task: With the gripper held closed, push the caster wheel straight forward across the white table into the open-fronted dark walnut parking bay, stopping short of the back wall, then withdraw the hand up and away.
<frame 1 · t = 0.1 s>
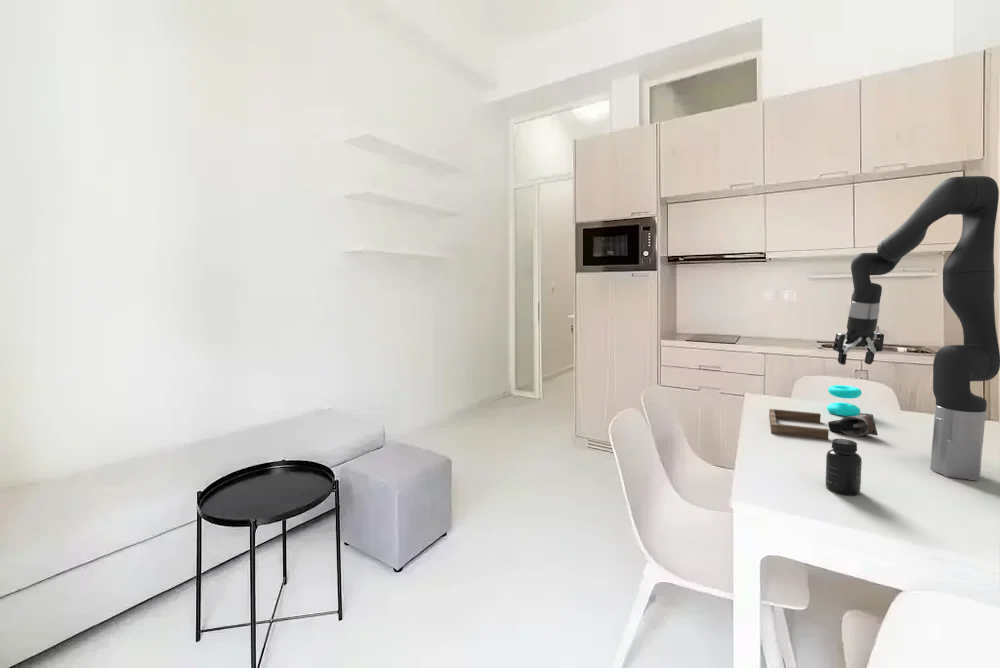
hand: (854, 363, 154), 22 cm above the table, tool pointing down, fingers open, 8 cm apart
supplement bottle: (842, 490, 113), on the table
caster wheel: (848, 434, 153), on the table
donuts: (843, 414, 175), on the table
parking bay: (798, 427, 160), on the table
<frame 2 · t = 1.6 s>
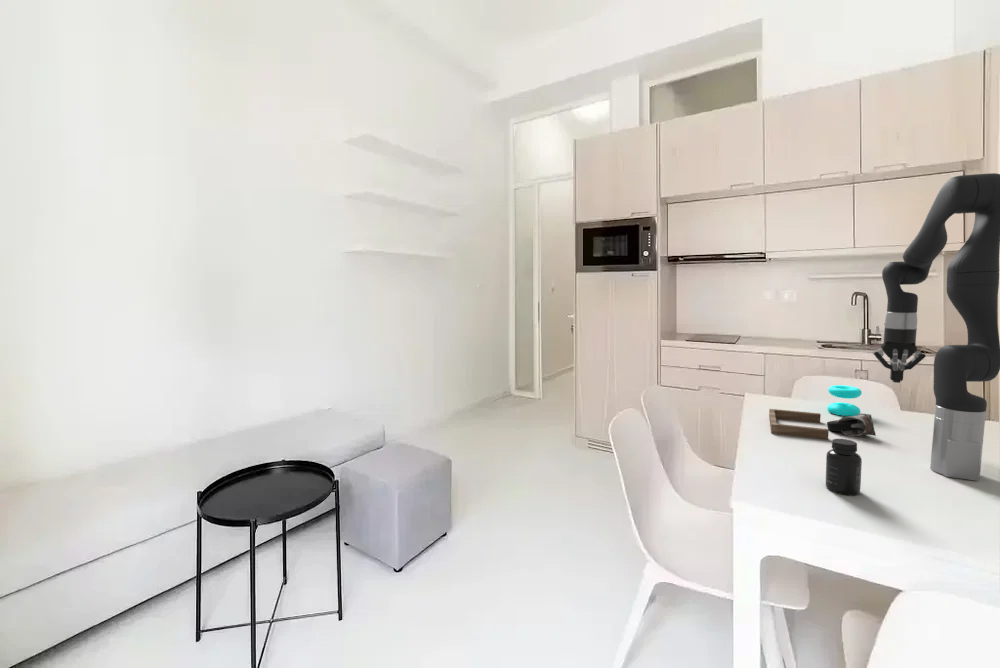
hand: (896, 382, 146), 18 cm above the table, tool pointing down, fingers closed
nothing on the table moved.
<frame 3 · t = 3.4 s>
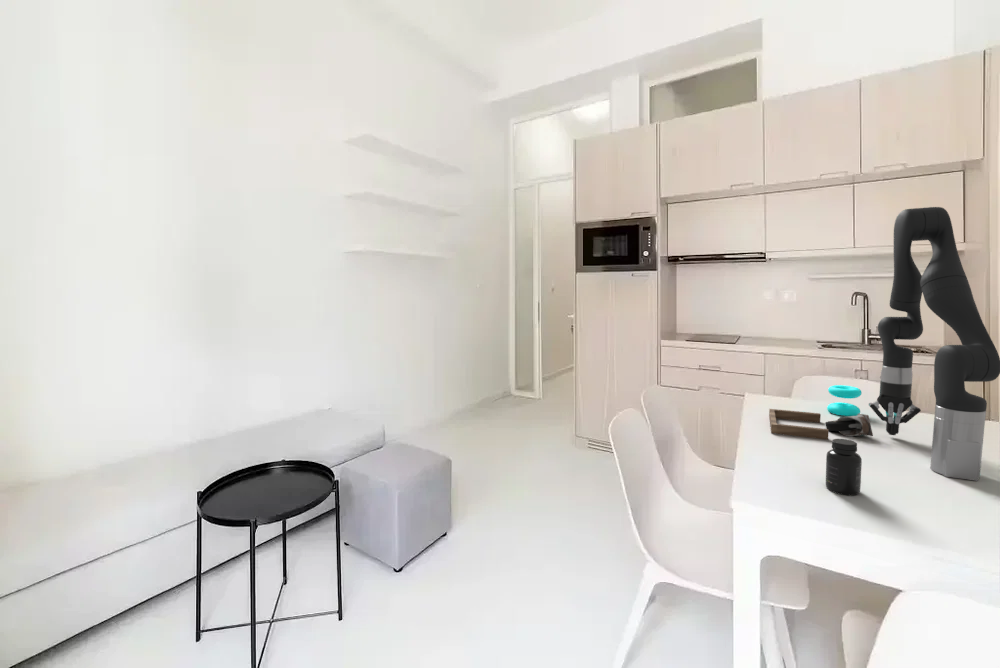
hand: (892, 434, 148), 1 cm above the table, tool pointing down, fingers closed
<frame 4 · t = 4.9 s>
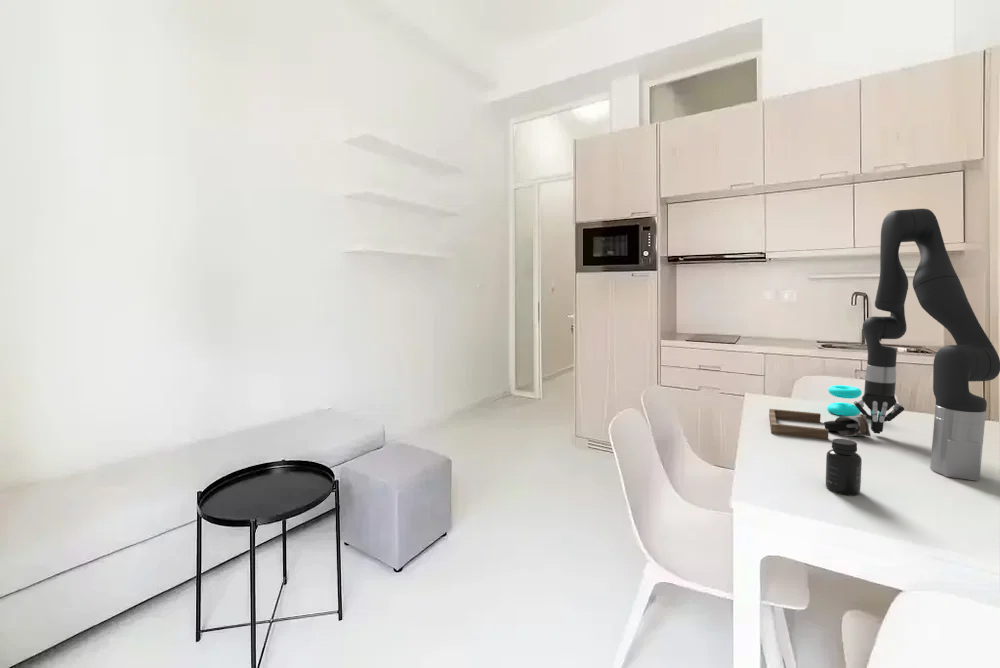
hand: (876, 432, 150), 1 cm above the table, tool pointing down, fingers closed
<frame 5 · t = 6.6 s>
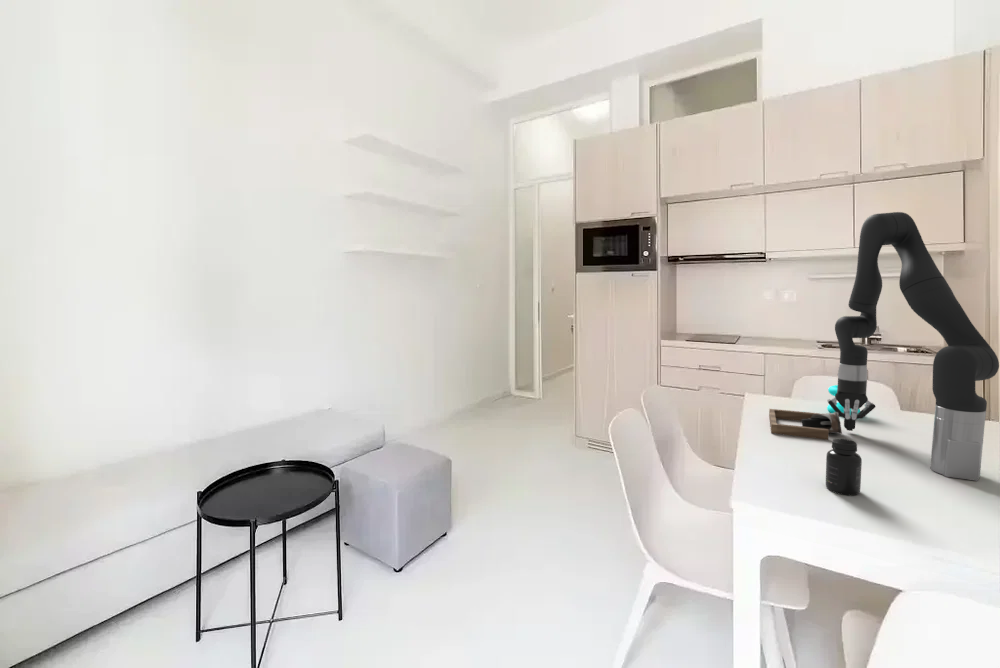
hand: (849, 429, 153), 1 cm above the table, tool pointing down, fingers closed
caster wheel: (819, 431, 156), on the table, touching hand
everything else where it was.
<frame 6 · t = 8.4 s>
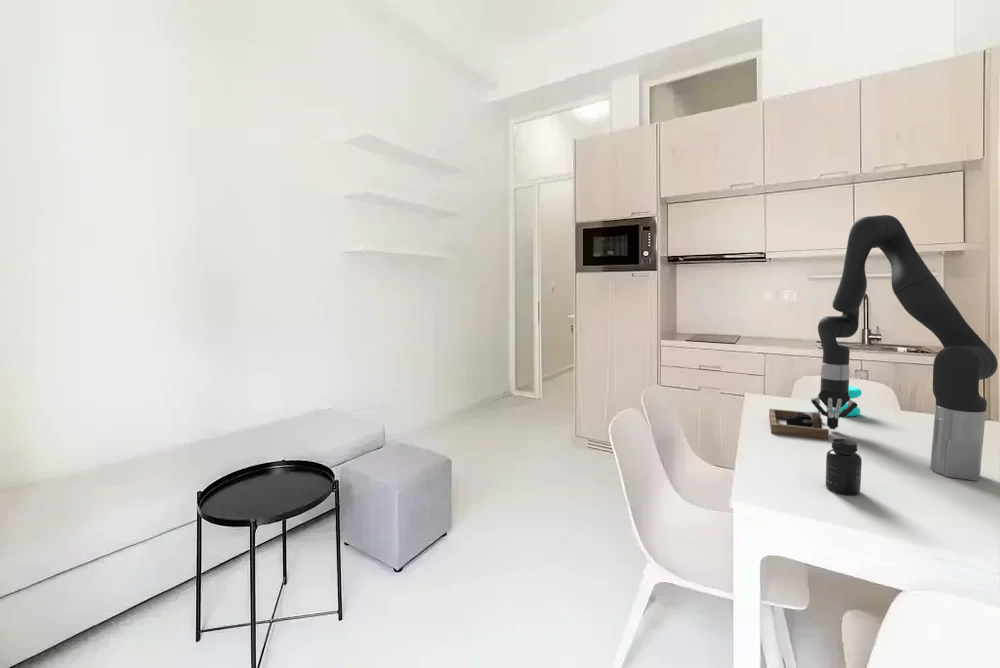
hand: (832, 428, 155), 1 cm above the table, tool pointing down, fingers closed
caster wheel: (803, 429, 158), on the table, touching hand
everything else where it was.
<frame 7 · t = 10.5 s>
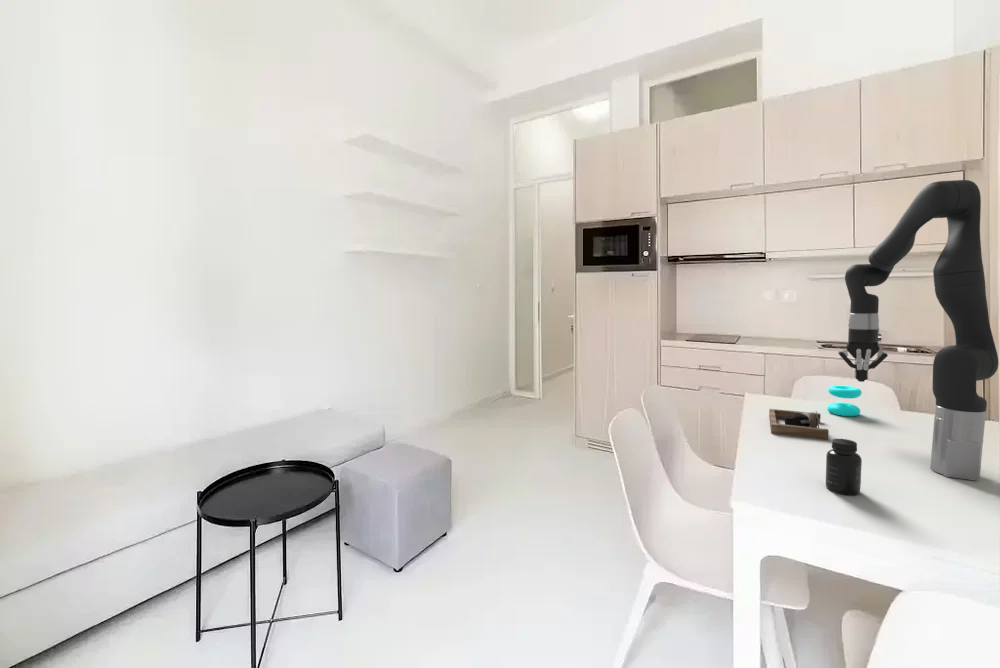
hand: (861, 381, 150), 17 cm above the table, tool pointing down, fingers closed
caster wheel: (801, 429, 158), on the table
everything else where it was.
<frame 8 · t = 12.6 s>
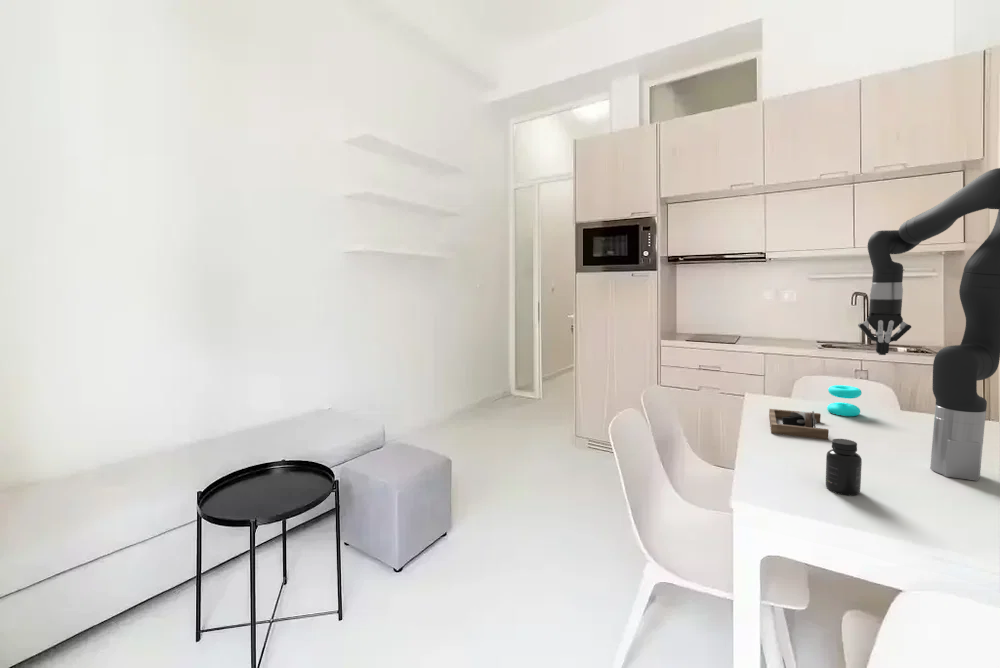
hand: (882, 354, 143), 27 cm above the table, tool pointing down, fingers closed
at the end: caster wheel inside the target area (1.5 cm from its centre), on the table; caster wheel tilted 0° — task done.
